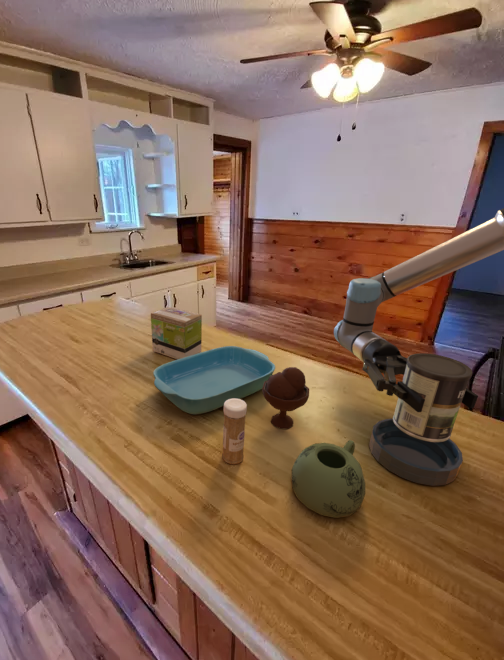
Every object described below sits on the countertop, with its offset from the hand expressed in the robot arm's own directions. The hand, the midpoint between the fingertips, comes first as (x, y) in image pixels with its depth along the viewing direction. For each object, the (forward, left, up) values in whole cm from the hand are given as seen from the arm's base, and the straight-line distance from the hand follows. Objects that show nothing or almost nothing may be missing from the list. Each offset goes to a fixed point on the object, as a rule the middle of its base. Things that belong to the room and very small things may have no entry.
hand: (448, 403), depth 62 cm
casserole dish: (+47, -21, -16) cm, 55 cm away
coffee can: (+1, -4, -8) cm, 9 cm away
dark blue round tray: (+1, -4, -16) cm, 17 cm away
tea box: (+65, -42, -16) cm, 80 cm away
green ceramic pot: (+19, +9, -16) cm, 27 cm away
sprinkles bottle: (+38, +5, -16) cm, 42 cm away
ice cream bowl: (+28, -10, -16) cm, 34 cm away
